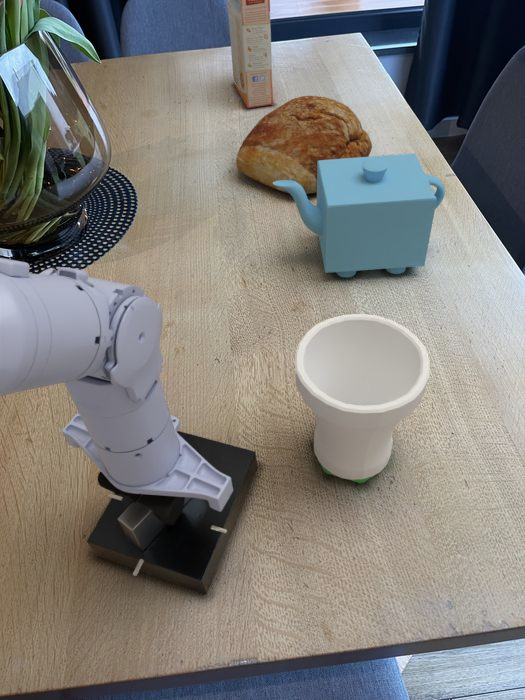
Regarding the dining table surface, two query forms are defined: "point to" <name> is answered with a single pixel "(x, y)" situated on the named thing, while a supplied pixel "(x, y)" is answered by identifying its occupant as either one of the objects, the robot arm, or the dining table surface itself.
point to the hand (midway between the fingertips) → (164, 510)
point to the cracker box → (251, 50)
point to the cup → (359, 389)
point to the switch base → (182, 525)
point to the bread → (301, 141)
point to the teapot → (370, 212)
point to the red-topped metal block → (141, 524)
